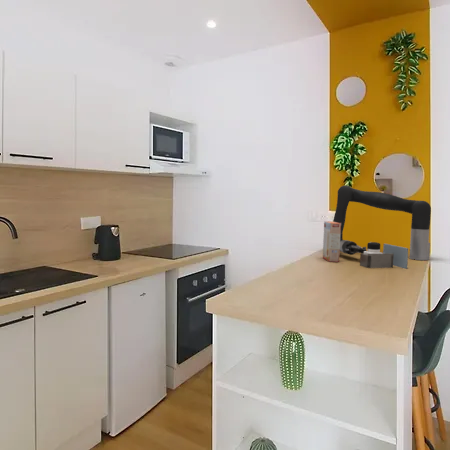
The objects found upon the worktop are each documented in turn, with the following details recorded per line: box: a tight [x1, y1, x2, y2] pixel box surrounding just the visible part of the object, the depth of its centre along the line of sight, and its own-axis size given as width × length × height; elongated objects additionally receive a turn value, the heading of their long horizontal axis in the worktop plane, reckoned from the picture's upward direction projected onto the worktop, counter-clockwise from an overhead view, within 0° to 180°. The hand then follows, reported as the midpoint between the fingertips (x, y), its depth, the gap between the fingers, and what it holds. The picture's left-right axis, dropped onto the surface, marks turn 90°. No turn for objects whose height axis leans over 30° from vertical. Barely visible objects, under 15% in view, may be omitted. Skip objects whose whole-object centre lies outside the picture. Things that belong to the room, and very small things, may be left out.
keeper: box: [359, 252, 394, 269], centre depth 189 cm, size 13×8×7 cm, turn 101°
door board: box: [382, 243, 409, 270], centre depth 193 cm, size 1×18×10 cm, turn 11°
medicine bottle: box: [364, 241, 382, 255], centre depth 190 cm, size 7×7×12 cm
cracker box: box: [322, 221, 341, 263], centre depth 206 cm, size 14×6×21 cm, turn 179°
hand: (364, 251), depth 200 cm, fingers closed
